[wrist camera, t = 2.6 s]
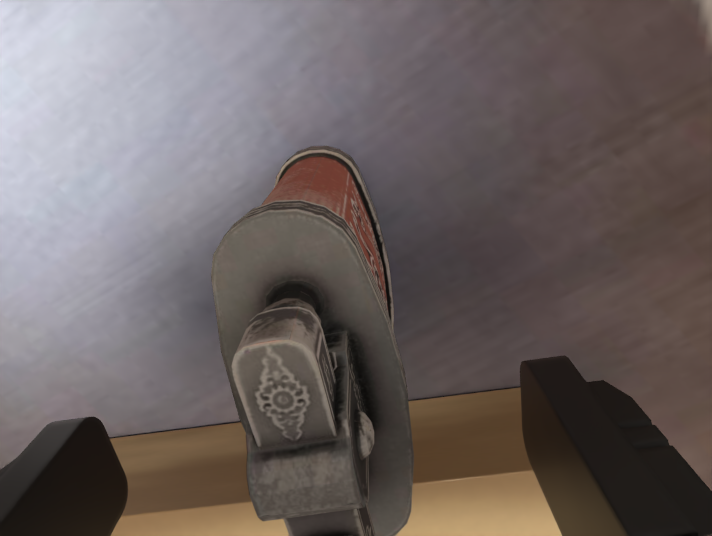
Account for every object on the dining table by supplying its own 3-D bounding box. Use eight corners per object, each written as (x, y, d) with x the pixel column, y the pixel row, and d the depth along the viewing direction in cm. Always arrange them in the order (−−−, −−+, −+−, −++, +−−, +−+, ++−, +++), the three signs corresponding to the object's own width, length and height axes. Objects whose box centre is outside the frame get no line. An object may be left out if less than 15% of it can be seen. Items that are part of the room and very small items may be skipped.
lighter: (258, 157, 15) (93, 296, 6) (365, 135, 15) (372, 245, 5) (317, 370, 18) (270, 688, 9) (406, 355, 18) (456, 668, 8)
